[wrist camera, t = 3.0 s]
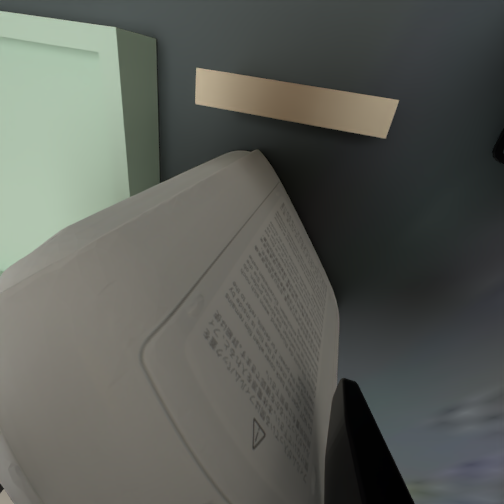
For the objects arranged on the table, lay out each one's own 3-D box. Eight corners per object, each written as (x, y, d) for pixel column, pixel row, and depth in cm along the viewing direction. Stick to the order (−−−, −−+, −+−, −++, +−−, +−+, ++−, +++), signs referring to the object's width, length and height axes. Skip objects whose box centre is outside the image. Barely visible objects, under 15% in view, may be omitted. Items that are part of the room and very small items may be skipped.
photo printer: (188, 172, 14) (-221, 378, 4) (261, 129, 13) (-156, 305, 2) (280, 327, 18) (183, 670, 7) (350, 311, 16) (359, 749, 5)
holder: (384, 98, 11) (399, 100, 8) (299, 355, 18) (290, 406, 15) (233, 73, 12) (196, 67, 9) (210, 326, 19) (186, 369, 16)
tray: (156, 38, 12) (115, 27, 10) (163, 320, 20) (142, 346, 18) (-127, -3, 15) (-206, -19, 13) (-20, 260, 23) (-57, 277, 21)
